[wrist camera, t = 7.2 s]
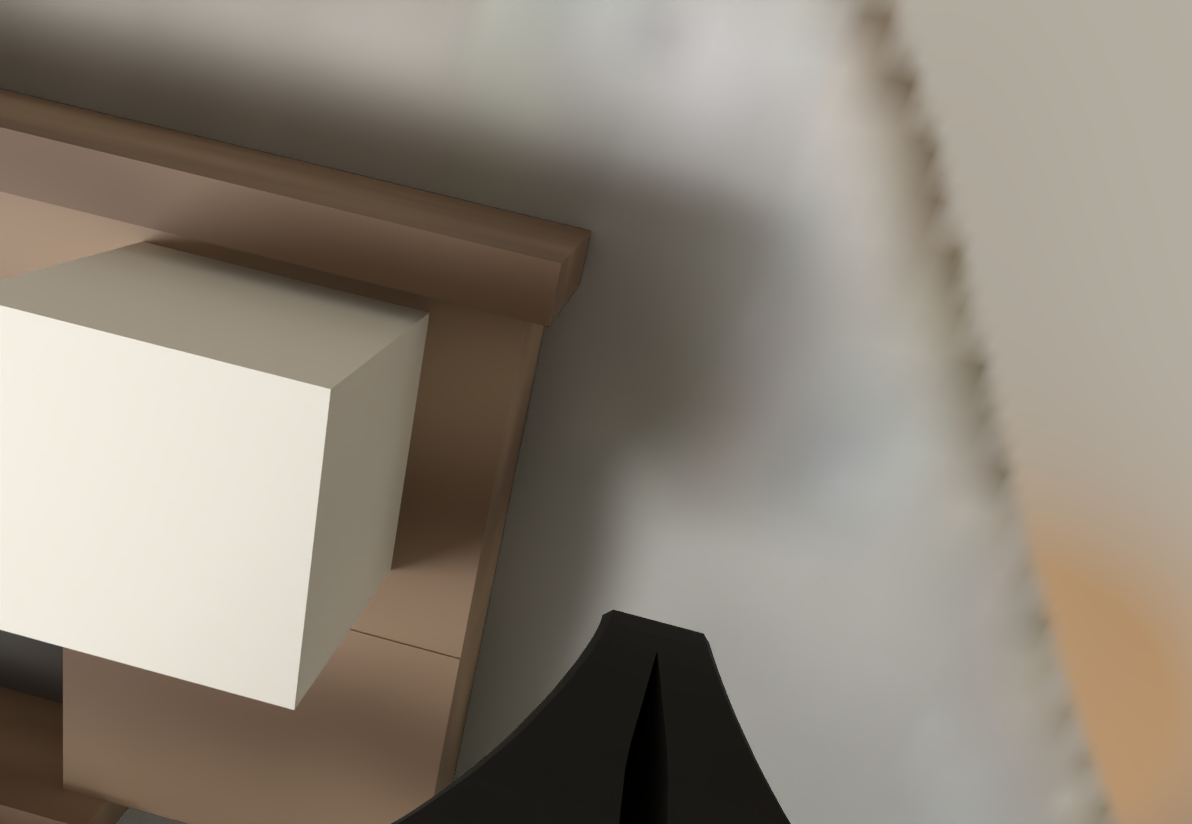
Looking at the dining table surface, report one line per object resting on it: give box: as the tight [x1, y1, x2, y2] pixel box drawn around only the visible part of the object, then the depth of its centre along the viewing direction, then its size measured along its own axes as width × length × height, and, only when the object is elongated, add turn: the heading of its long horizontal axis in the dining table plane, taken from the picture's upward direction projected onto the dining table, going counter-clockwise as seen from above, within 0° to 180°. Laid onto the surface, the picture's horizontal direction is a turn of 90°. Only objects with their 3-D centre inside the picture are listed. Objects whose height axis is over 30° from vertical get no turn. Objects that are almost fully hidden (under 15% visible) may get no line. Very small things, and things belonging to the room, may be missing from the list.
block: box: [0, 242, 430, 710], centre depth 14 cm, size 5×5×4 cm
